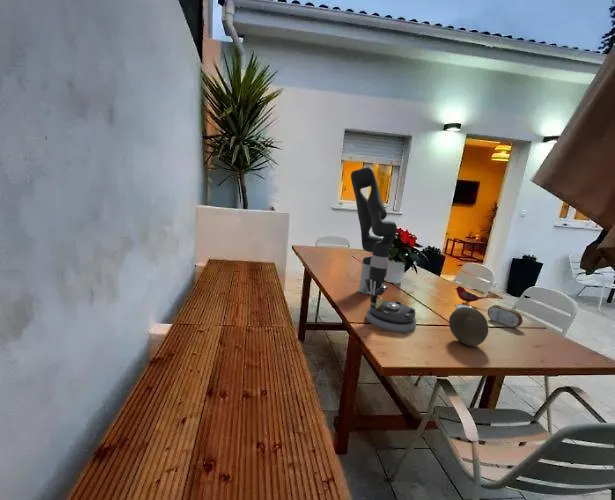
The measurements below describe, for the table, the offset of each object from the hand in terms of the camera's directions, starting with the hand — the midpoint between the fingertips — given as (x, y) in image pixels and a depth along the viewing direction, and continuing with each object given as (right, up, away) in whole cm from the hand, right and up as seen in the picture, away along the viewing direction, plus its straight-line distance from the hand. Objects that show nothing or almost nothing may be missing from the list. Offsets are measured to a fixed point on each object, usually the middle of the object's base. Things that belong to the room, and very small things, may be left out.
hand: (373, 302), depth 139 cm
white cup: (+41, -13, +3) cm, 43 cm away
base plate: (+8, -9, +2) cm, 12 cm away
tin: (+67, -13, +13) cm, 70 cm away
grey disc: (+9, -6, +1) cm, 10 cm away
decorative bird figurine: (+63, -8, +38) cm, 74 cm away
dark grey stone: (+35, -15, -13) cm, 40 cm away
